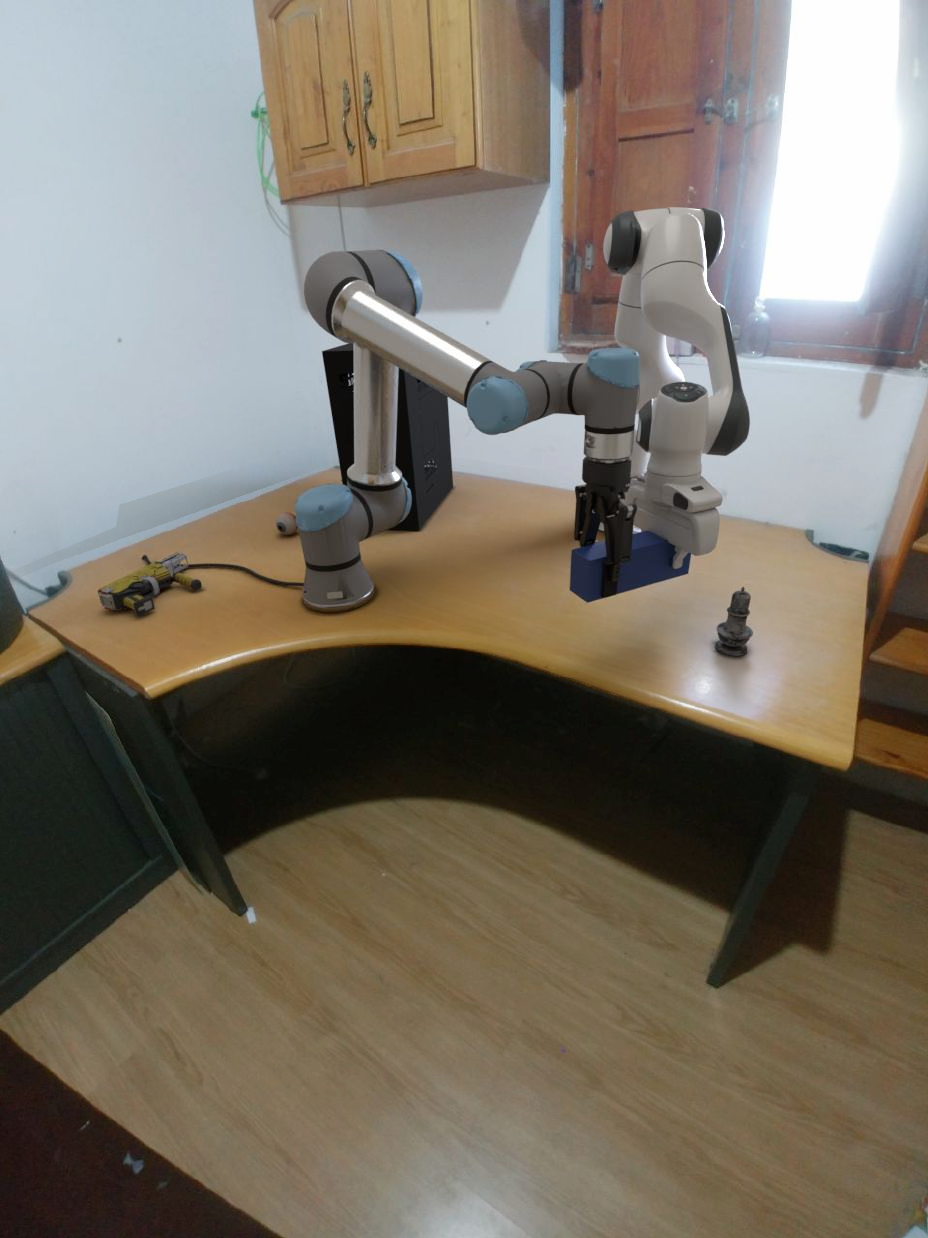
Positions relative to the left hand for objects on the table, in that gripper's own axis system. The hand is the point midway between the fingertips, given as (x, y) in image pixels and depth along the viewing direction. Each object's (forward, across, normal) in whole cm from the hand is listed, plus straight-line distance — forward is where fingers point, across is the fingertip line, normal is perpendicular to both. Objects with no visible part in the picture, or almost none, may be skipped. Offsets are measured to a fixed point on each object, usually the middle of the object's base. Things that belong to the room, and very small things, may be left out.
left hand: (598, 588), depth 106 cm
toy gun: (+11, -64, -72) cm, 97 cm away
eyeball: (+11, -85, -40) cm, 95 cm away
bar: (+1, 0, +7) cm, 7 cm away
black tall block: (+11, -89, -5) cm, 90 cm away
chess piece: (+11, +14, +19) cm, 26 cm away
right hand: (-2, 0, +14) cm, 14 cm away
